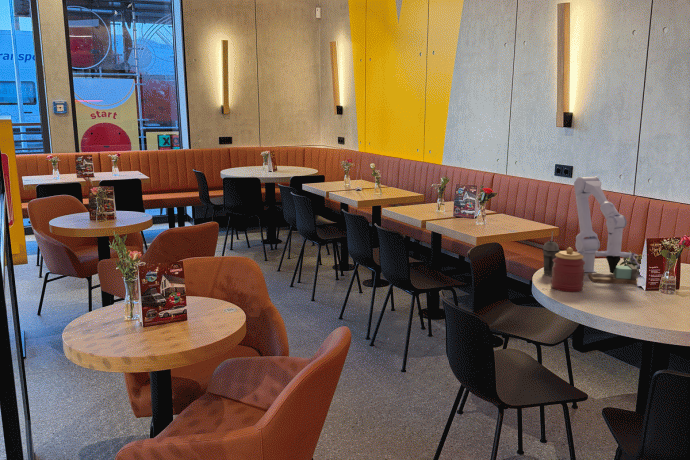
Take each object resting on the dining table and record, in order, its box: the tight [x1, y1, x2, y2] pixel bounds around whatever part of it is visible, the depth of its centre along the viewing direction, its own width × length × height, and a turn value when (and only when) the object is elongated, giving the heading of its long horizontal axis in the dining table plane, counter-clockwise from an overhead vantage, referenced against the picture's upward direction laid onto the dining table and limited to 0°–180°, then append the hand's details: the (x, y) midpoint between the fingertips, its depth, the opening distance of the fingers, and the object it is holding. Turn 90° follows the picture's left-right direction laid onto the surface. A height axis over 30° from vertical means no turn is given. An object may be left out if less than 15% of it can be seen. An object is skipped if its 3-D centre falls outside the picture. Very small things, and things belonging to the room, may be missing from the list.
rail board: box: [587, 263, 638, 285], centre depth 266 cm, size 18×10×6 cm, turn 80°
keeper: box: [612, 265, 632, 279], centre depth 265 cm, size 6×6×4 cm
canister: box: [550, 246, 585, 293], centre depth 253 cm, size 13×13×18 cm
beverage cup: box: [542, 231, 560, 277], centre depth 273 cm, size 7×7×20 cm
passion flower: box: [619, 250, 643, 274], centre depth 280 cm, size 11×11×12 cm
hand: (611, 272), depth 266 cm, fingers closed
